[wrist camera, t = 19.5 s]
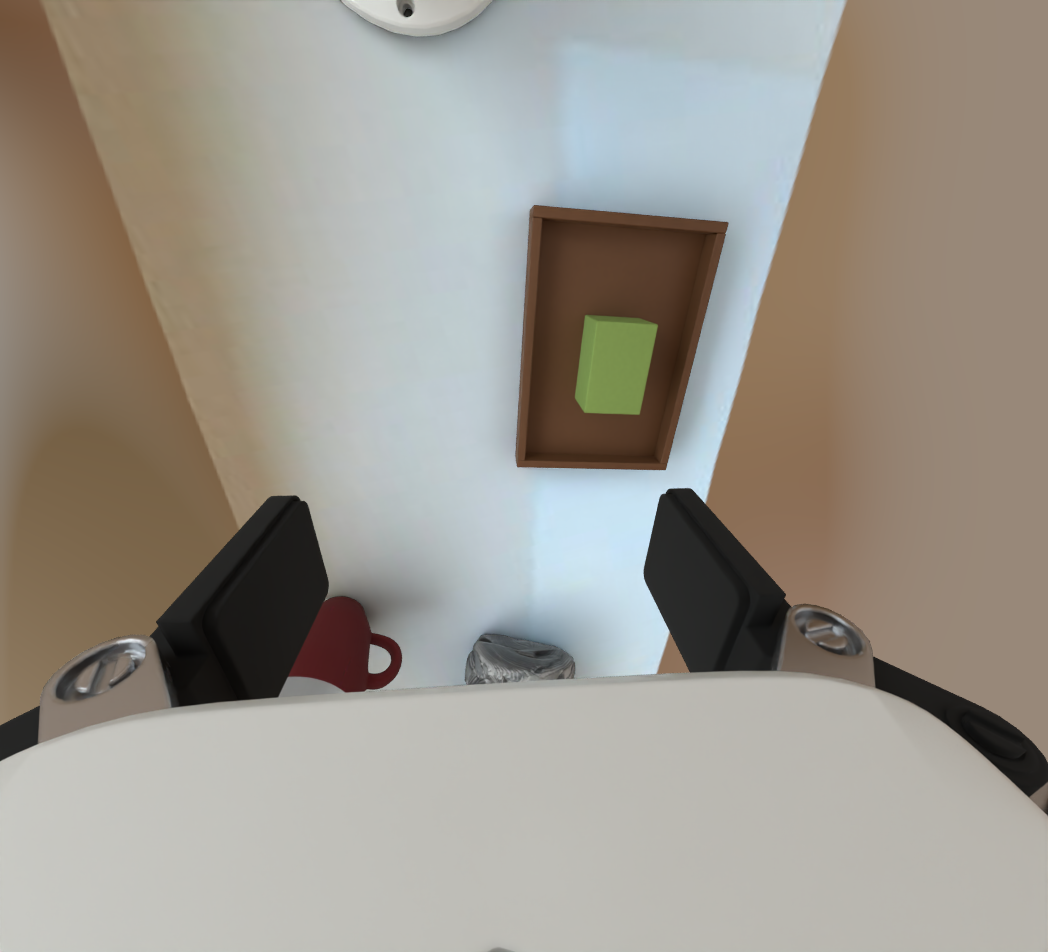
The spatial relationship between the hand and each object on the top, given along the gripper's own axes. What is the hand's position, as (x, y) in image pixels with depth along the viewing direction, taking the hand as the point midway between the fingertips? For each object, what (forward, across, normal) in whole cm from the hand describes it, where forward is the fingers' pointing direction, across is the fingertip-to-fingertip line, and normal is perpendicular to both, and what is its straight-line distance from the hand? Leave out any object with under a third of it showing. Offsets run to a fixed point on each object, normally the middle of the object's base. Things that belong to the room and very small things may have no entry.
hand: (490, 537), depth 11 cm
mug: (+21, +13, +25) cm, 35 cm away
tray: (+21, -9, -1) cm, 23 cm away
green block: (+21, -9, 0) cm, 22 cm away
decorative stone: (+21, -2, +35) cm, 41 cm away
